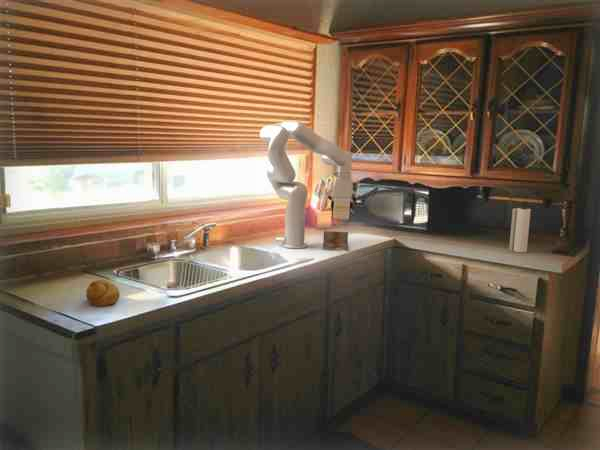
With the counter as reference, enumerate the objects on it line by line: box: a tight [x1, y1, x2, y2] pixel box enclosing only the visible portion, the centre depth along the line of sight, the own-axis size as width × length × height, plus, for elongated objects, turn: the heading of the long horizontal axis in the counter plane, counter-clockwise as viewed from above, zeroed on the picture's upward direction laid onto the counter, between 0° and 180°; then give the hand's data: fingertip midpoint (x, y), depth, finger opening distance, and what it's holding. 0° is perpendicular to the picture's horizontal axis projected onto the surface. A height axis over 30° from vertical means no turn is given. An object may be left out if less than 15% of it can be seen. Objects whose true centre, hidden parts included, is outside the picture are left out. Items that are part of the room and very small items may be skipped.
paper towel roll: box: [508, 207, 531, 254], centre depth 263 cm, size 7×6×21 cm
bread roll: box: [85, 279, 120, 307], centre depth 172 cm, size 13×10×8 cm
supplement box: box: [332, 197, 351, 221], centre depth 277 cm, size 8×5×13 cm, turn 86°
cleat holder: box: [322, 230, 349, 252], centre depth 262 cm, size 12×12×7 cm
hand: (341, 209), depth 278 cm, fingers closed on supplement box, 8 cm apart
